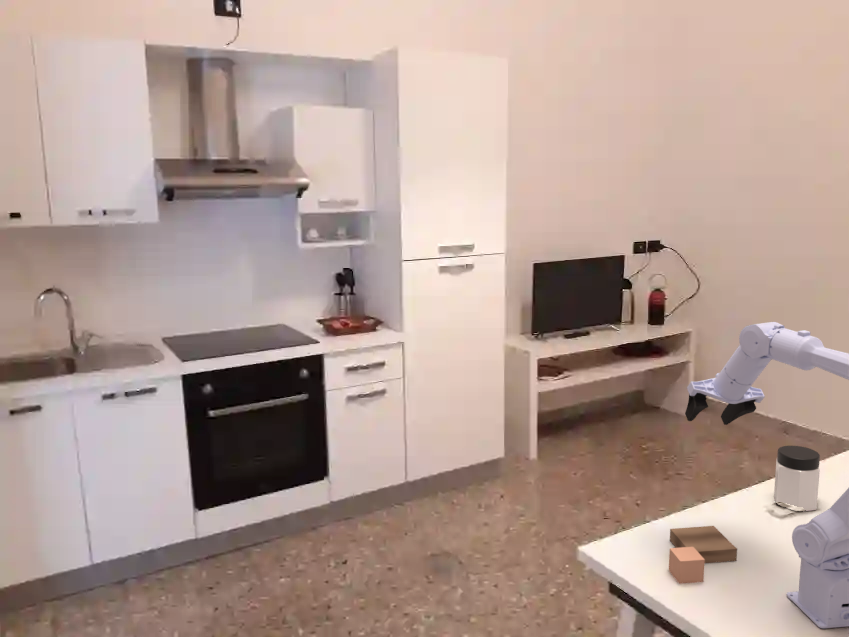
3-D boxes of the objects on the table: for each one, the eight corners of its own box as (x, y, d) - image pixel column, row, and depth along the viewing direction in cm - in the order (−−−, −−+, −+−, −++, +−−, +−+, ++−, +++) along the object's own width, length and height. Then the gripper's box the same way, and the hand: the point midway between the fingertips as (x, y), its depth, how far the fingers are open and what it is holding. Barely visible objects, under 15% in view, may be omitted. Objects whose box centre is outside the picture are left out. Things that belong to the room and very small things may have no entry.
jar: (824, 504, 152) (828, 452, 149) (808, 516, 146) (812, 463, 144) (782, 491, 158) (785, 441, 156) (765, 502, 153) (769, 451, 151)
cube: (703, 582, 124) (704, 559, 123) (679, 584, 124) (680, 561, 123) (692, 568, 129) (693, 546, 128) (668, 570, 128) (669, 548, 127)
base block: (736, 560, 131) (737, 548, 130) (690, 564, 130) (690, 552, 129) (713, 537, 139) (713, 525, 139) (669, 540, 139) (670, 528, 138)
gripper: (767, 361, 131) (732, 406, 141) (696, 353, 129) (666, 399, 139) (781, 389, 126) (745, 434, 135) (708, 382, 124) (676, 428, 133)
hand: (706, 419), depth 137 cm, fingers open, 7 cm apart
